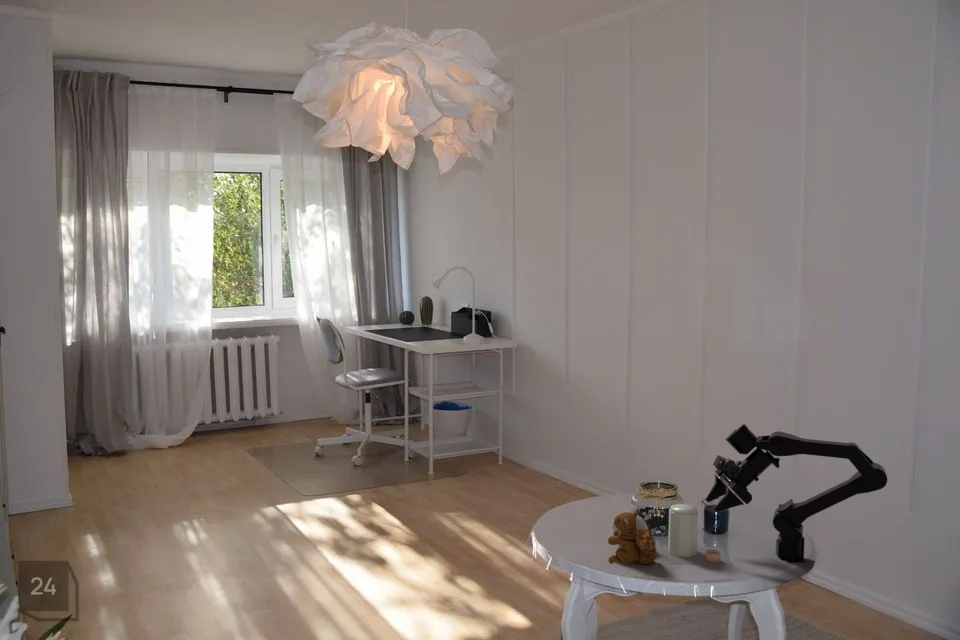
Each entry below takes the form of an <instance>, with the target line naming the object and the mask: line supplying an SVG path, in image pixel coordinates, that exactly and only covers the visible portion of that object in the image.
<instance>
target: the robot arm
mask: <svg viewBox="0 0 960 640" xmlns="http://www.w3.org/2000/svg"><path fill="white" fill-rule="evenodd" d="M725 441H726V442H727V443H728V444H729V445H730V446H731V447H732V448H733V450H735V451H736V452H737V453H738V454H739V455H743V456H744V455H745V456H746V455H747V457H746V458H745V459H744V460H737V461H734V460H732V459H730V457H729V458H726V457H724V456H722V455H720V454H719V455H717V456H716V458H715V460H714V461H713V464H712V466H713V467H714V468H715V469H716V470H714V473H715V474H714V484H713V486H712V488H711V489H710V491H709V493H708V494H707V496H706V497H705V501H706V502H707V503H711V502H714V501H715V500H717V499H719V498H720V497H722V498H721V499H720V501H718V503H717V504H716V505H715V506H714V508H713V511H714V512H715V513H719V512H722V511H725V510H728V509H732V508H734V507H740V506H744V505H749V503H751V502H752V501H753V495H752V494H751V493H750V492H749V489H748V488H747V487H749V486H750V485H751V484H752V483H753V482H758V481H759V480H760V478H759V476H761V475H762V474H763V473H764V472H765V471H767V469H768V468H769V467H770V466H771V465H773V466H774V467H775V468H777V469H779V468H780V460H781V459H780V457H790V456H791V457H792V456H797V455H807V456H808V455H809V456H815V457H816V456H819V457H826V458H827V457H828V458H837V459H846V460H848V461H850V463H851V464H852V465H853V466H854V468H855V469H856V470H857V471H856V472H855V473H854V474H853V475H852V476H851V477H850V478H849V479H847V480H844V481H843V482H840V483H838V484H837V485H835V486H832V487H830V488H828V489H827V490H825V491H822V492H820V493H818V494H816V495H814V496H812V497H809V498H808V499H806V500H804V501H801V502H794V500H793V498H791V499H789V500H788V501H786V502H784V503H781V504H780V503H779V504H778V506H777V508H776V509H775V510H774V513H773V517H772V518H773V519H772V525H773V528H774V529H775V530H776V531H777V532H778V533H777V534H778V535H777V538H778V539H777V538H776V539H775V555H776V556H777V557H778V558H779V559H780V560H781V561H782V562H783V561H784V562H789V563H790V562H792V563H793V562H795V563H797V562H798V563H806V561H807V560H806V558H805V539H806V538H805V537H804V536H803V535H804V525H803V523H804V522H805V521H806V520H807V519H809V518H810V517H812V516H814V515H816V514H818V513H820V512H822V511H824V510H827V509H828V508H831V507H833V506H835V505H837V504H839V503H841V502H843V501H845V500H848V499H849V498H852V497H854V496H856V495H861V494H867V493H872V492H875V491H879V490H880V491H881V490H882V489H884V488H885V487H886V486H887V483H888V476H887V472H886V469H885V468H884V466H883V465H881V464H880V463H877V462H874V461H873V460H872V459H871V458H870V457H869V456H868V454H866V453H865V452H864V451H863V450H862V449H861V448H860V446H859V445H858V444H857V443H855V442H841V441H832V440H831V441H830V440H821V439H810V438H803V437H799V436H797V435H795V434H791V433H788V432H783V431H780V430H779V431H774V432H773V433H771V434H768V435H759V436H757V435H755V434H754V433H753V431H752V430H751V429H749V427H748V425H746V424H745V423H743V424H742V425H741V426H739V427H738V428H735V429H734V430H733V431H732V432H731V433H730V434H729V435H728V436H727V437H726V438H725ZM754 448H755V449H754ZM750 452H751V453H750ZM748 454H749V455H748Z"/></svg>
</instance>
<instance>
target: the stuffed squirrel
mask: <svg viewBox="0 0 960 640" xmlns="http://www.w3.org/2000/svg"><path fill="white" fill-rule="evenodd" d="M637 515H638V516H639V514H638V512H637V511H633V512H629V511H628V512H625V511H624V512H622V513H619V514H617V515H616V516H615V517H614V521H613V522H612V523H613V524H612V530H613V529H614V525H615V527H616V528H617V529H618V530H615V531H614V532H613V535H611V536H609V537H608V539H607V542H608V544H609V545H611V546H616V545H618V546H617V549H616V550H615V555H610V556H609V557H608V559H607V560H608V562H610V563H616V564H617V563H618V564H622V565H624V564H625V565H629V564H630V565H631V564H637V563H638V564H640V565H650V564H651V563H653V562H654V561H655V560H656V559H657V557H658V554H657V548H656V541H655V538H654V537H653V535H652V533H651V531H650V529H648V530H647V529H643V528H641V529H640V530H638V529H637V527H636V517H637Z"/></svg>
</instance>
